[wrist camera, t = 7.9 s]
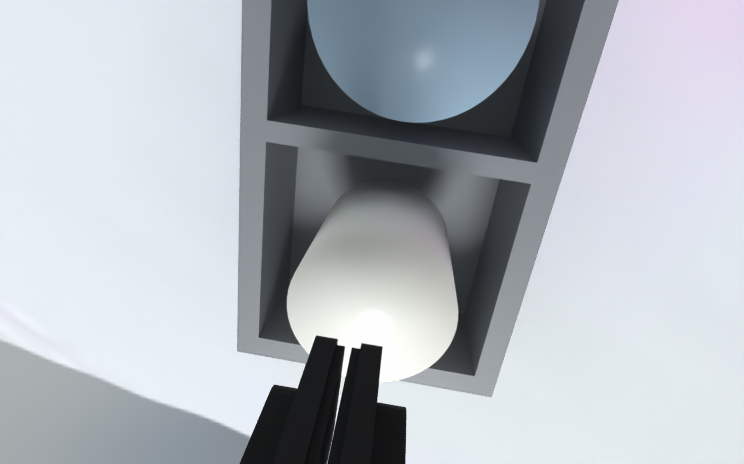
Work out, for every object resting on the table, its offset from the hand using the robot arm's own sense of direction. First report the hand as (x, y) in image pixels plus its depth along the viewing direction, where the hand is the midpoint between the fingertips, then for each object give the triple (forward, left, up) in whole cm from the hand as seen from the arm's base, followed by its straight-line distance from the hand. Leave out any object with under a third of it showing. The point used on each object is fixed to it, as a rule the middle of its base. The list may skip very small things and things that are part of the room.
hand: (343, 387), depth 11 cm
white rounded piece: (0, 0, -10) cm, 10 cm away
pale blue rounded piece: (0, -9, -9) cm, 13 cm away
